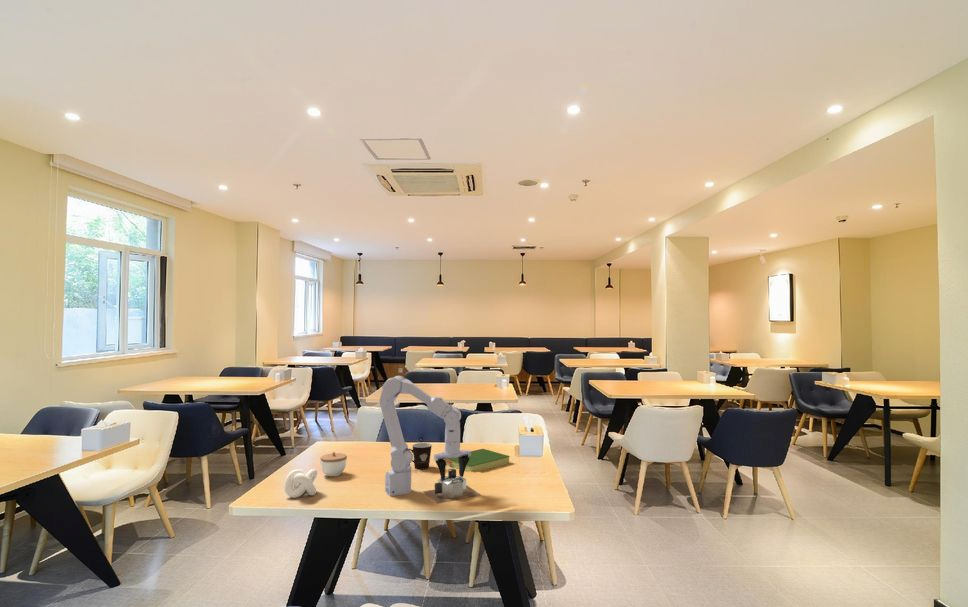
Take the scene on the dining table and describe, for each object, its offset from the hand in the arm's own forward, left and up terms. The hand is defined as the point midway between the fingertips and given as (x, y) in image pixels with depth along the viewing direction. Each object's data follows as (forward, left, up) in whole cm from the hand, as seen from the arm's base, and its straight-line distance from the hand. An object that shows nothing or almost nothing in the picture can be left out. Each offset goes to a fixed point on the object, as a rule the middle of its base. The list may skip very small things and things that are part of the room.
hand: (452, 477), depth 178 cm
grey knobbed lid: (0, 0, -2) cm, 2 cm away
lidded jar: (-34, +47, -7) cm, 58 cm away
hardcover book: (+28, +33, -7) cm, 44 cm away
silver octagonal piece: (-1, 0, -6) cm, 6 cm away
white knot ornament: (-50, +27, -7) cm, 57 cm away
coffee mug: (+2, +40, -7) cm, 41 cm away
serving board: (0, 0, -7) cm, 7 cm away
